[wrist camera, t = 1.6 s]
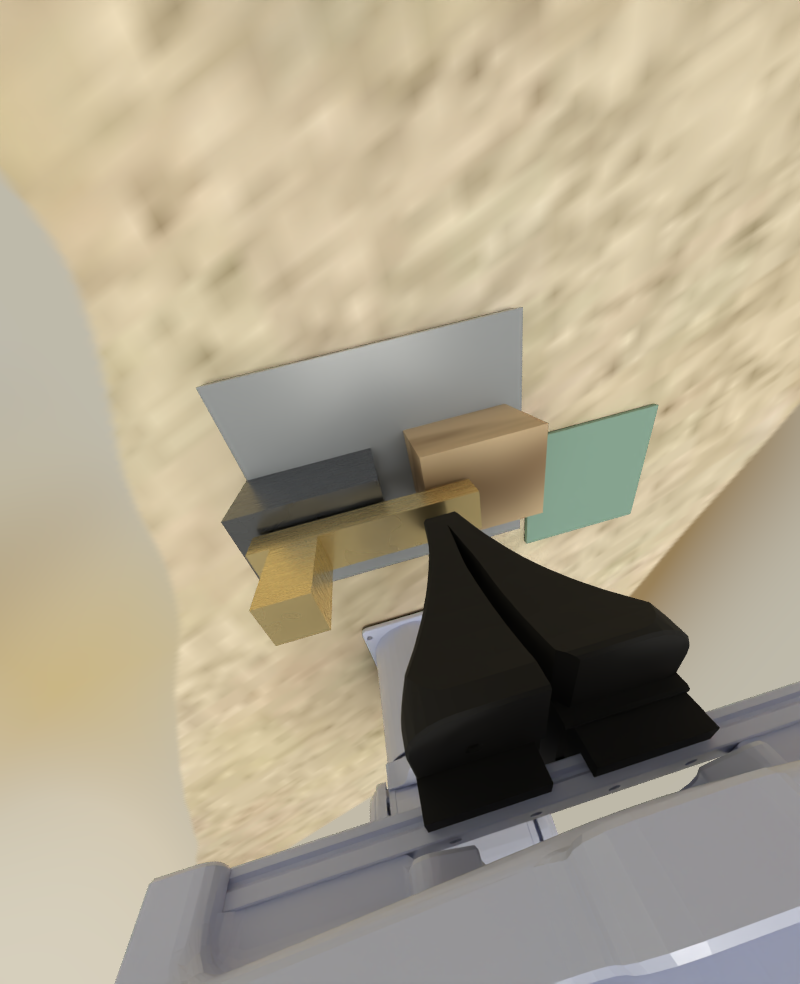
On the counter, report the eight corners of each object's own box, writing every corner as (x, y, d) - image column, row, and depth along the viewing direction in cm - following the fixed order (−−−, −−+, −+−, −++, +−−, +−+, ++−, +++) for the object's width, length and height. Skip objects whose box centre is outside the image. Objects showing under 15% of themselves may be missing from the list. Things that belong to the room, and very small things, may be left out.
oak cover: (506, 479, 19) (542, 512, 15) (418, 503, 19) (435, 543, 15) (504, 403, 16) (548, 423, 13) (402, 430, 16) (419, 457, 13)
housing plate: (513, 520, 22) (554, 566, 18) (308, 578, 21) (300, 641, 17) (512, 308, 15) (581, 299, 11) (204, 384, 14) (145, 407, 10)
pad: (627, 511, 24) (630, 513, 24) (524, 541, 23) (526, 543, 23) (654, 403, 19) (658, 404, 19) (527, 438, 19) (529, 439, 19)
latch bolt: (471, 513, 14) (515, 575, 11) (272, 569, 14) (248, 654, 10) (468, 478, 13) (515, 534, 10) (252, 537, 13) (218, 619, 9)
